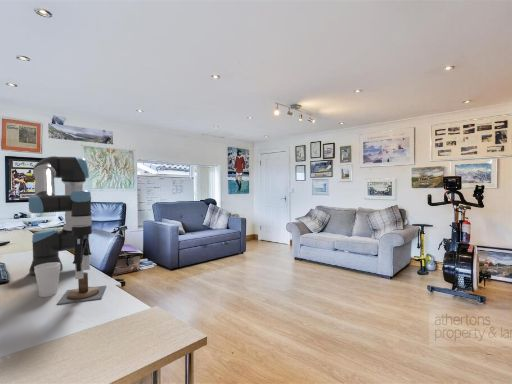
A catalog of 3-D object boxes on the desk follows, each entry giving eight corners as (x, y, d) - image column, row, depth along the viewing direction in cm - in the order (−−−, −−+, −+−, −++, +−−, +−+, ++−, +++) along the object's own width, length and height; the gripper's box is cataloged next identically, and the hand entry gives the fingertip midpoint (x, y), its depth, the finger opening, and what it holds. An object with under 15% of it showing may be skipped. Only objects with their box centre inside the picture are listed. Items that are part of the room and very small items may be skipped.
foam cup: (47, 299, 122) (46, 268, 122) (29, 297, 124) (28, 267, 123) (66, 290, 131) (65, 262, 131) (49, 289, 133) (48, 261, 133)
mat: (67, 291, 131) (67, 290, 131) (106, 286, 137) (106, 285, 137) (56, 305, 116) (56, 303, 116) (101, 299, 122) (101, 298, 122)
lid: (71, 291, 130) (70, 271, 129) (101, 287, 134) (100, 268, 134) (63, 301, 119) (63, 279, 118) (96, 296, 123) (96, 276, 122)
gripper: (78, 222, 136) (79, 267, 136) (63, 230, 112) (65, 284, 113) (96, 222, 138) (97, 265, 139) (85, 228, 115) (87, 281, 115)
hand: (83, 274), depth 126 cm, fingers open, 13 cm apart
